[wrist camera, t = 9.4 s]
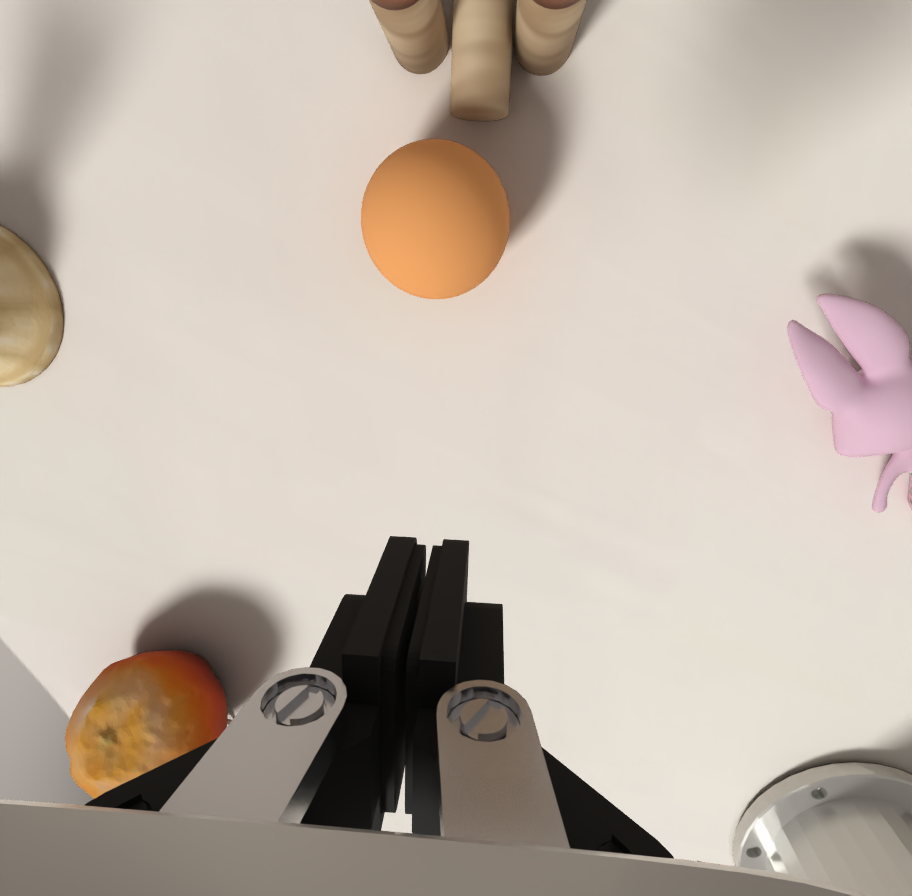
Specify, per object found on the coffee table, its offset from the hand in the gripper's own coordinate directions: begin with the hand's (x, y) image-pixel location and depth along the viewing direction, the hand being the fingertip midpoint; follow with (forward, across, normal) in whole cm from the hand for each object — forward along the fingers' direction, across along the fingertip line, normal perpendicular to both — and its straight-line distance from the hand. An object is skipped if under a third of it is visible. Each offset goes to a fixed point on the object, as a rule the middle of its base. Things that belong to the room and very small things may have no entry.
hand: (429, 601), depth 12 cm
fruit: (+17, +16, +18) cm, 30 cm away
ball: (+14, +2, -9) cm, 17 cm away
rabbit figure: (+18, -19, -1) cm, 26 cm away
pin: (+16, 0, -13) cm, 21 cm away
